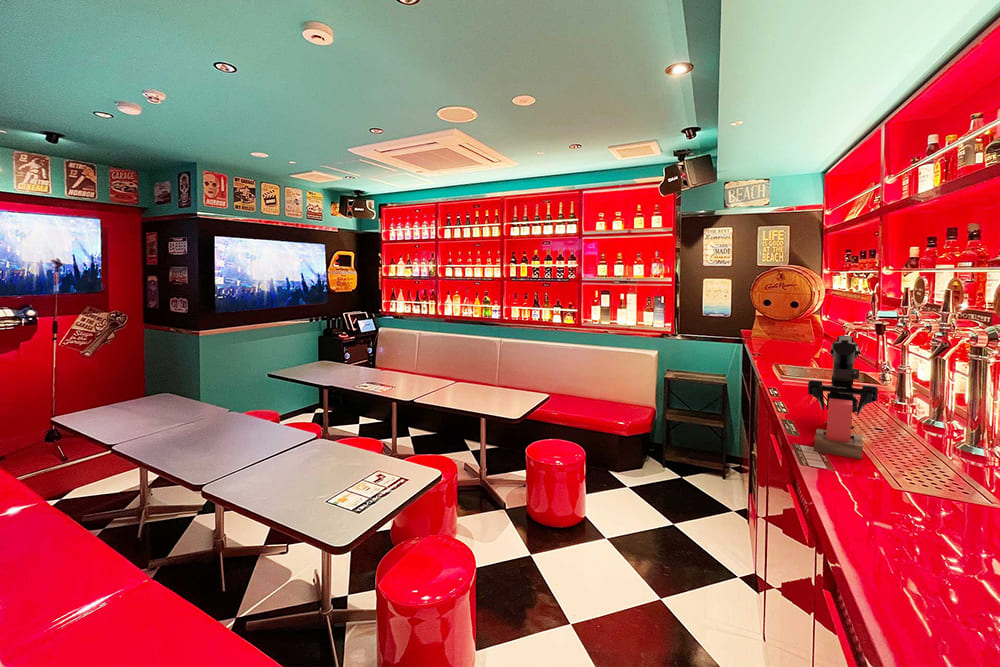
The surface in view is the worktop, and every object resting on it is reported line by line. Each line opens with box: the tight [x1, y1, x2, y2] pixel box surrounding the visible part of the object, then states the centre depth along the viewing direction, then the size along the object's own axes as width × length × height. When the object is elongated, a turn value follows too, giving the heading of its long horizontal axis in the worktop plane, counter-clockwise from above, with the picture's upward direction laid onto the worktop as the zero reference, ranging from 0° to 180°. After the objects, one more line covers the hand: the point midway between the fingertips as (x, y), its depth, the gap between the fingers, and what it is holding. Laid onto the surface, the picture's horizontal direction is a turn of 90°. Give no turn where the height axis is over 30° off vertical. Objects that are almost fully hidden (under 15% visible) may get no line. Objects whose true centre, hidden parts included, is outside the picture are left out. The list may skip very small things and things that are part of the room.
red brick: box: [826, 398, 853, 442], centre depth 148 cm, size 6×6×12 cm
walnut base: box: [813, 428, 864, 460], centre depth 148 cm, size 12×12×4 cm
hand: (840, 412), depth 153 cm, fingers open, 9 cm apart
